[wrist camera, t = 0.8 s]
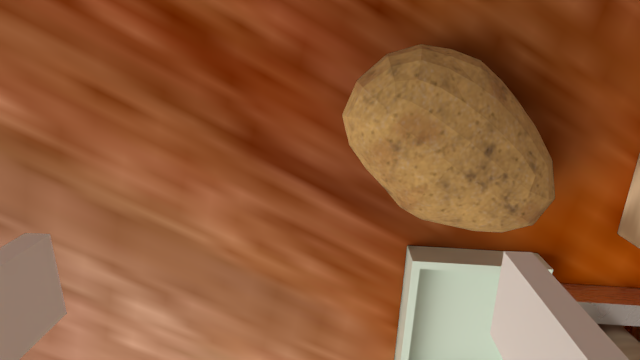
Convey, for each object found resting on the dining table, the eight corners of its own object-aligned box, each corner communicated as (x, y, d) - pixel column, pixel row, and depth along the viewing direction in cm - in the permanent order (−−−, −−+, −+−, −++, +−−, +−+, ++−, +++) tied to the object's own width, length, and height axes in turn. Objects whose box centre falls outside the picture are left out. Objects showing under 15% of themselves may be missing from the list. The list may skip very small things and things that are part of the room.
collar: (550, 282, 33) (567, 301, 30) (667, 289, 32) (693, 309, 30) (528, 375, 35) (542, 398, 33) (636, 382, 35) (658, 407, 33)
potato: (463, 235, 32) (502, 294, 24) (315, 129, 30) (305, 157, 22) (556, 134, 29) (632, 164, 22) (400, 11, 27) (422, -4, 20)
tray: (407, 245, 32) (412, 261, 30) (537, 253, 32) (553, 269, 30) (393, 370, 36) (396, 393, 34) (509, 378, 36) (521, 402, 33)
